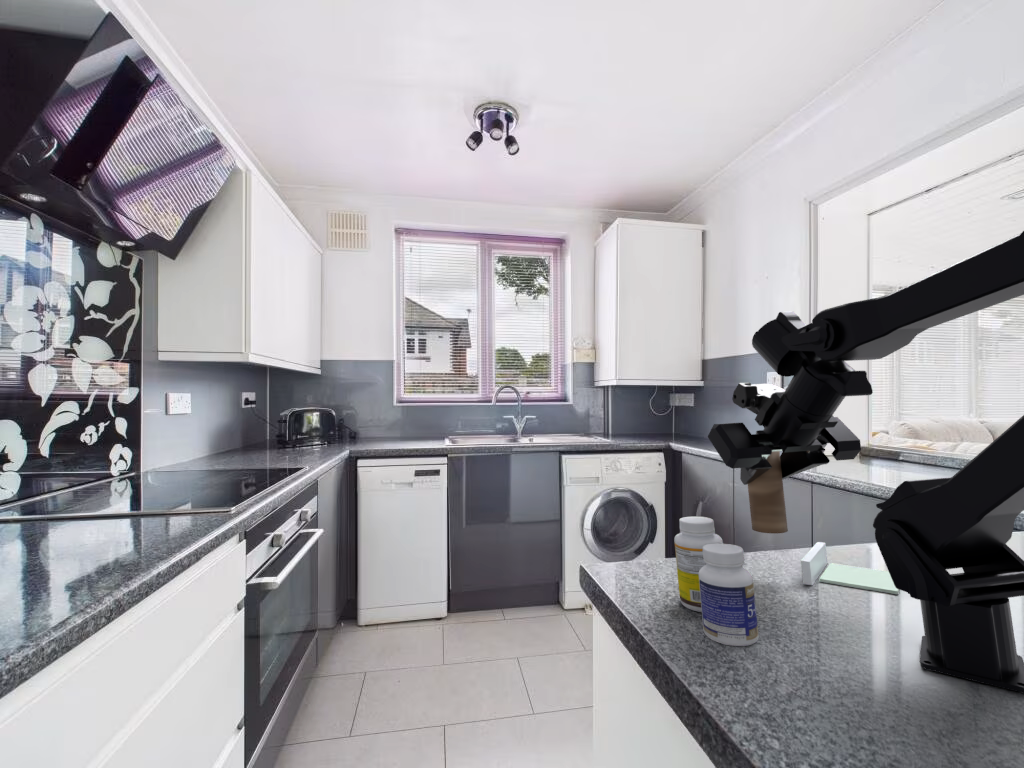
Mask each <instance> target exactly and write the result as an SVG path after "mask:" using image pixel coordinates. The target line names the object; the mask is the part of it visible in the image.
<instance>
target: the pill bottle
mask: <svg viewBox="0 0 1024 768" xmlns="http://www.w3.org/2000/svg"><path fill="white" fill-rule="evenodd" d="M703 558H704V562H705V563H706V565H705V566H703V567H702V568H701V569H700V570H699V584H700V596H701V607H702V612H701V618H702V619H701V620H702V629H703V633H704V634H705V636H707V637H708V639H710V640H712V641H713V642H716V643H719V644H721V645H727V646H731V647H745V646H746V647H747V646H751V645H753V644H756V642H758V640H759V636H760V635H759V626H758V619H757V618H758V617H757V607H756V606H757V605H756V595H755V586H754V585H755V584H754V578H753V577H754V576H753V575H752V573H751V572H750V571H749V570H748V569H746V568H745V567H744V565H745V564H746V562H745V561H746V560H745V553H744V549H743V547H741V546H740V545H737V544H736V545H735V544H732V543H731V544H730V543H723V544H721V543H717V544H708V545H705V546H703Z"/></svg>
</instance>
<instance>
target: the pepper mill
mask: <svg viewBox="0 0 1024 768" xmlns="http://www.w3.org/2000/svg"><path fill="white" fill-rule="evenodd" d="M780 452H781V451H773V452H772V453H771V455H770V456H768V458H767V461H768V462H769V463H770V465H771V466H772V468H770V469H769V470H768V471H766V472H765V473H763V474H762V475H760V476H759V477H758V478H756V479H755V480H753V481H752V482H750V483H749V484H747V490H748V502H749V503H748V504H749V512H750V521H751V530H753V531H754V532H757V533H762V534H774V535H775V534H783V533H788V532H789V530H788V529H789V528H788V519H787V509H786V501H785V499H786V498H785V491H784V482H783V481H784V479H783V480H782V471H781V461H780V456H781V454H780Z"/></svg>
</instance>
